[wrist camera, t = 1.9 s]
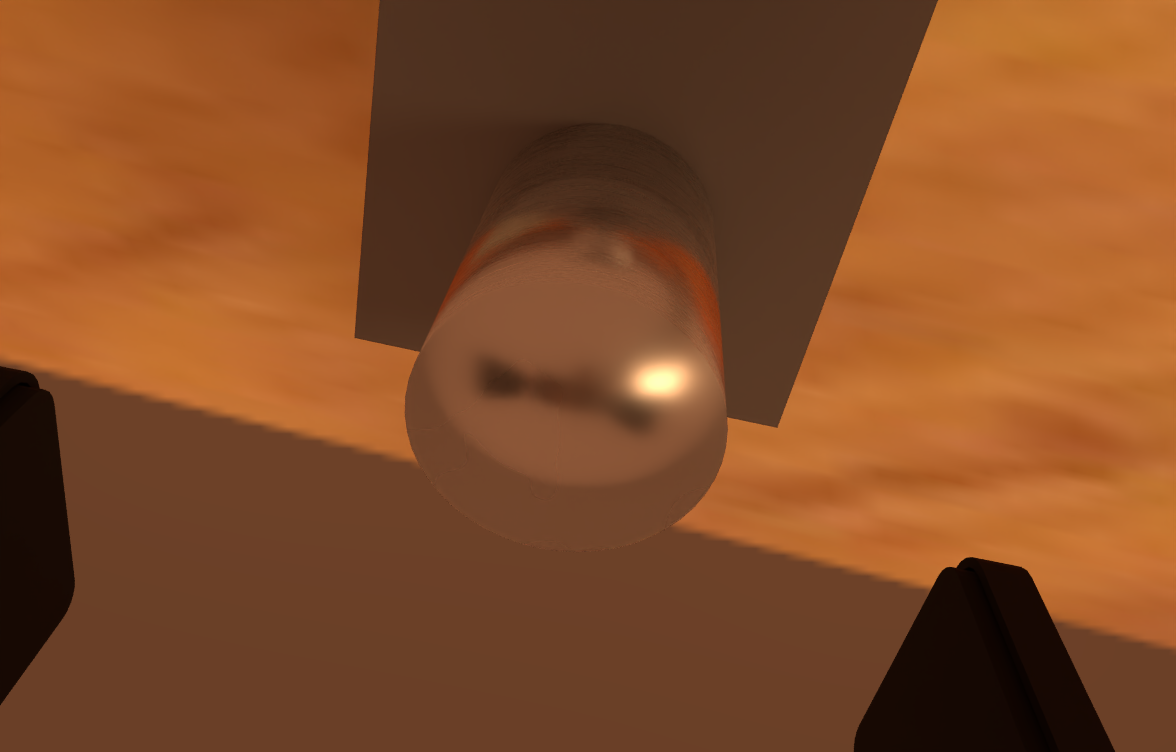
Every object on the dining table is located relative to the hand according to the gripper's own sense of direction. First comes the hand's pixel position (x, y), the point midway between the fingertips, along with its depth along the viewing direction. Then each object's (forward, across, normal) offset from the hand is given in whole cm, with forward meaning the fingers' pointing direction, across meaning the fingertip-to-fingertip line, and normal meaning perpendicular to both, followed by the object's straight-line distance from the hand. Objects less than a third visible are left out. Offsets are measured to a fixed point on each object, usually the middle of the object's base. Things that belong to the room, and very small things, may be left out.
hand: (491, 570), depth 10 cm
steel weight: (+8, -1, 0) cm, 8 cm away
